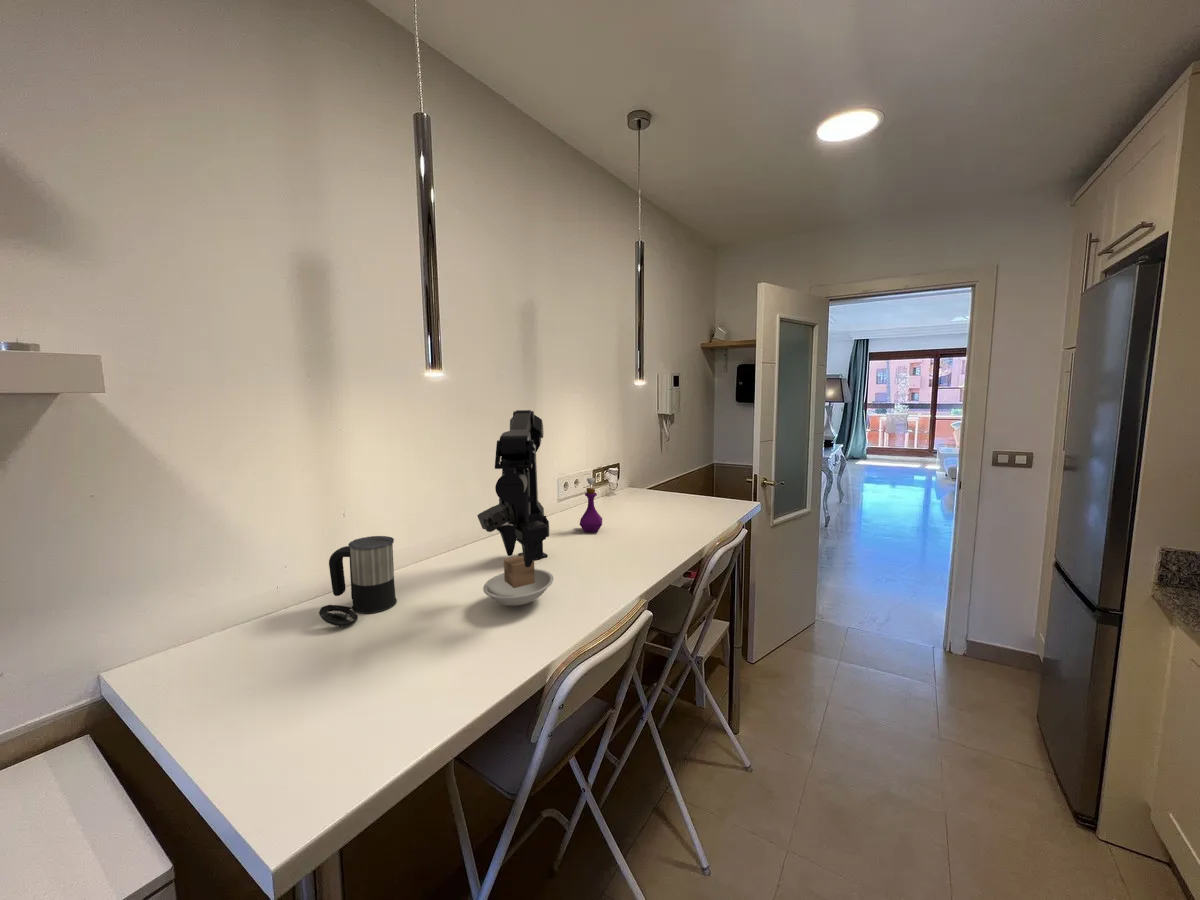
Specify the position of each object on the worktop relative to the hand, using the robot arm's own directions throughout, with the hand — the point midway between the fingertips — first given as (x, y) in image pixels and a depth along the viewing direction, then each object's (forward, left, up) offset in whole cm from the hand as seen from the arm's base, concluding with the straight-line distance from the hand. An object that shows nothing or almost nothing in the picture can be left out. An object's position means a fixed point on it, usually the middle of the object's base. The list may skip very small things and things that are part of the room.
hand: (518, 561), depth 112 cm
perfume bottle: (-39, +45, -10) cm, 60 cm away
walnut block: (0, 0, -5) cm, 5 cm away
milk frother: (-15, -30, -10) cm, 35 cm away
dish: (0, 0, -10) cm, 10 cm away
